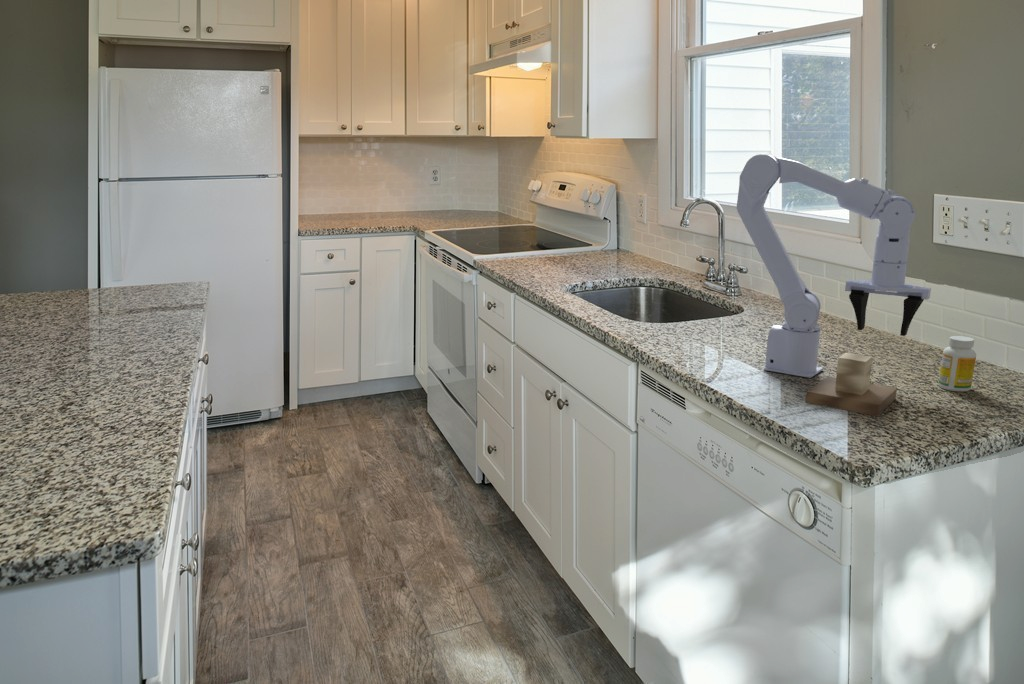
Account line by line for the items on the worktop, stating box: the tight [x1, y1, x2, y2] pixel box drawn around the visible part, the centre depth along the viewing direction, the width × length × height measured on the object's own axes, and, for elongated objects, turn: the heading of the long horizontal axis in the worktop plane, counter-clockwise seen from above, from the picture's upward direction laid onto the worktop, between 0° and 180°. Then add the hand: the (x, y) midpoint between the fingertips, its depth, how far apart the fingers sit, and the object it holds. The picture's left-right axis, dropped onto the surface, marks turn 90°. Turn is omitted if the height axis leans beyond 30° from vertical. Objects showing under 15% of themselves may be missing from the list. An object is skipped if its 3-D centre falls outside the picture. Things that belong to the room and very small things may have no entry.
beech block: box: [835, 352, 874, 395], centre depth 137 cm, size 4×4×6 cm
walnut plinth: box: [805, 376, 898, 417], centre depth 138 cm, size 12×12×2 cm
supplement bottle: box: [938, 335, 977, 393], centre depth 145 cm, size 5×5×10 cm
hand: (881, 331), depth 149 cm, fingers open, 7 cm apart
